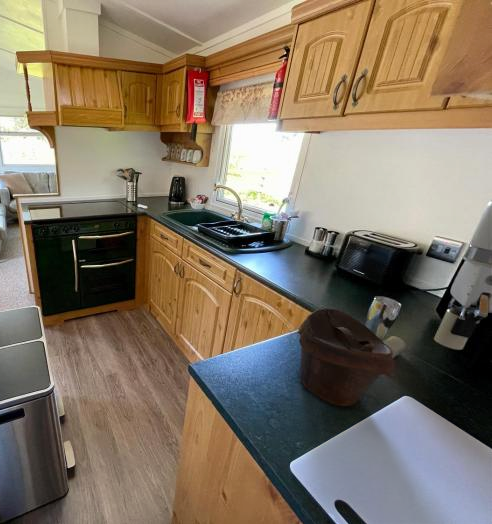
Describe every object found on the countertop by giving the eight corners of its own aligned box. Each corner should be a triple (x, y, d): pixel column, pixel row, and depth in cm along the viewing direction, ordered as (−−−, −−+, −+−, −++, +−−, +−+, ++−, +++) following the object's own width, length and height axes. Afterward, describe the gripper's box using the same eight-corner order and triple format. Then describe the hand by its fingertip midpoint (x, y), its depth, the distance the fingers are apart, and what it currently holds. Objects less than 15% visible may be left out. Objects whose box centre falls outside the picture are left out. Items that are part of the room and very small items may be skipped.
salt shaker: (396, 333, 88) (383, 341, 83) (410, 348, 85) (397, 357, 81) (381, 340, 91) (367, 348, 87) (394, 355, 89) (380, 364, 84)
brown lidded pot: (361, 435, 60) (393, 365, 54) (272, 376, 75) (289, 316, 69) (388, 398, 70) (417, 336, 64) (305, 353, 85) (322, 299, 79)
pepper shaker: (458, 341, 70) (475, 308, 67) (466, 352, 66) (484, 317, 63) (431, 334, 72) (446, 302, 69) (437, 344, 68) (453, 310, 65)
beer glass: (361, 345, 91) (378, 303, 86) (354, 333, 97) (370, 294, 92) (387, 351, 89) (407, 309, 83) (378, 339, 95) (396, 298, 90)
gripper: (541, 272, 53) (495, 354, 59) (496, 250, 67) (462, 318, 73) (483, 263, 56) (445, 341, 63) (452, 244, 70) (423, 310, 77)
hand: (455, 328), depth 68 cm, fingers closed on pepper shaker, 5 cm apart
